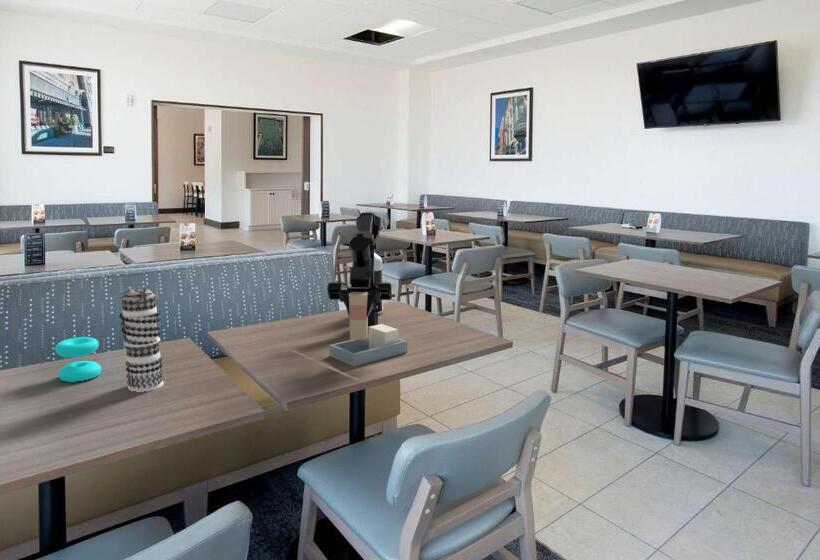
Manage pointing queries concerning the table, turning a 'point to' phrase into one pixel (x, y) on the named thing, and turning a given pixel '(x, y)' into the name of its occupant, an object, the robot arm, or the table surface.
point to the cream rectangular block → (382, 336)
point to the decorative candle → (141, 340)
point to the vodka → (378, 274)
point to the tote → (364, 351)
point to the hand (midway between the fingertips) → (358, 315)
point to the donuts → (81, 368)
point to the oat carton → (358, 315)
